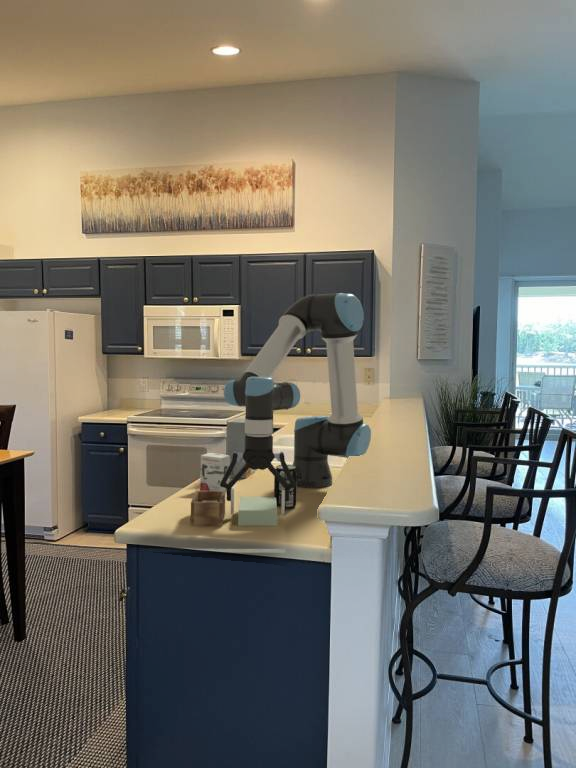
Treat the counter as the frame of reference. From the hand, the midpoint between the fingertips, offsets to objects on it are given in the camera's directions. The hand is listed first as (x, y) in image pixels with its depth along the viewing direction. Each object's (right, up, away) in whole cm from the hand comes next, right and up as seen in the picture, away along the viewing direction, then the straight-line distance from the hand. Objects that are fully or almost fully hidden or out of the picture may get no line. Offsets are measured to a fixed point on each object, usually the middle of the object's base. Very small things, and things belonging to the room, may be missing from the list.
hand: (257, 513), depth 168 cm
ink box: (-16, 0, +33) cm, 37 cm away
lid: (0, -1, 0) cm, 1 cm away
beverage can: (+7, -2, +15) cm, 17 cm away
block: (-13, -1, +1) cm, 13 cm away
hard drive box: (-9, +2, +61) cm, 61 cm away
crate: (-13, -2, -2) cm, 13 cm away
